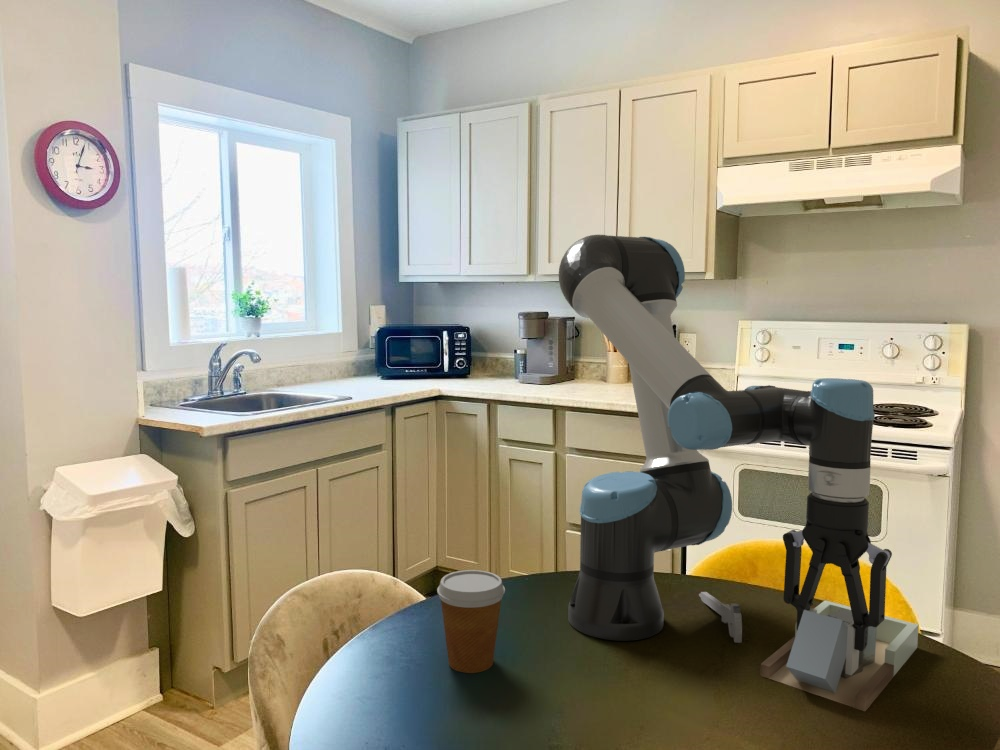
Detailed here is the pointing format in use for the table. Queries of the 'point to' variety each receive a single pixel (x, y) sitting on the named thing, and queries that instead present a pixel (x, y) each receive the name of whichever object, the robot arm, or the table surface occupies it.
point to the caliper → (726, 615)
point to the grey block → (819, 651)
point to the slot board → (849, 691)
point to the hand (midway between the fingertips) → (829, 663)
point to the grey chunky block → (871, 642)
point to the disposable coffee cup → (470, 618)
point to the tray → (885, 635)
